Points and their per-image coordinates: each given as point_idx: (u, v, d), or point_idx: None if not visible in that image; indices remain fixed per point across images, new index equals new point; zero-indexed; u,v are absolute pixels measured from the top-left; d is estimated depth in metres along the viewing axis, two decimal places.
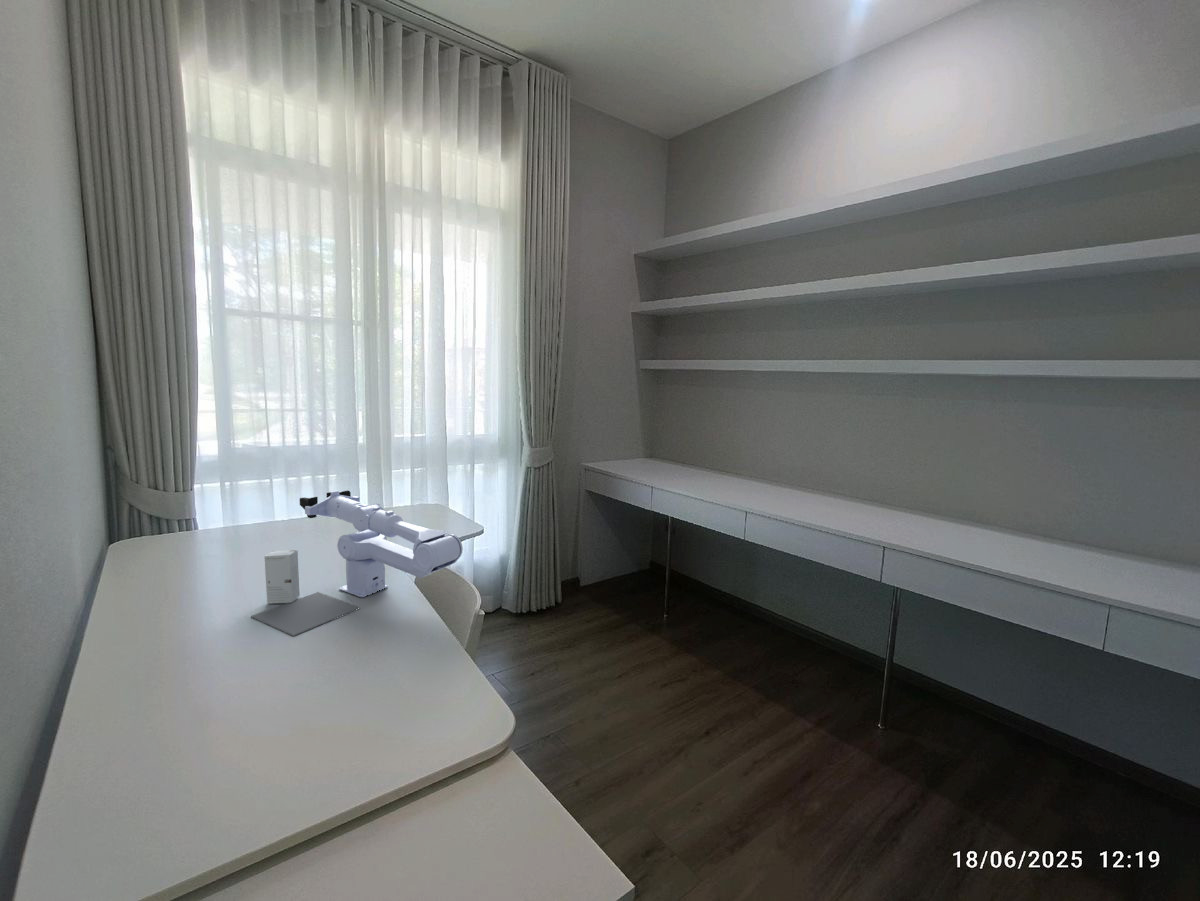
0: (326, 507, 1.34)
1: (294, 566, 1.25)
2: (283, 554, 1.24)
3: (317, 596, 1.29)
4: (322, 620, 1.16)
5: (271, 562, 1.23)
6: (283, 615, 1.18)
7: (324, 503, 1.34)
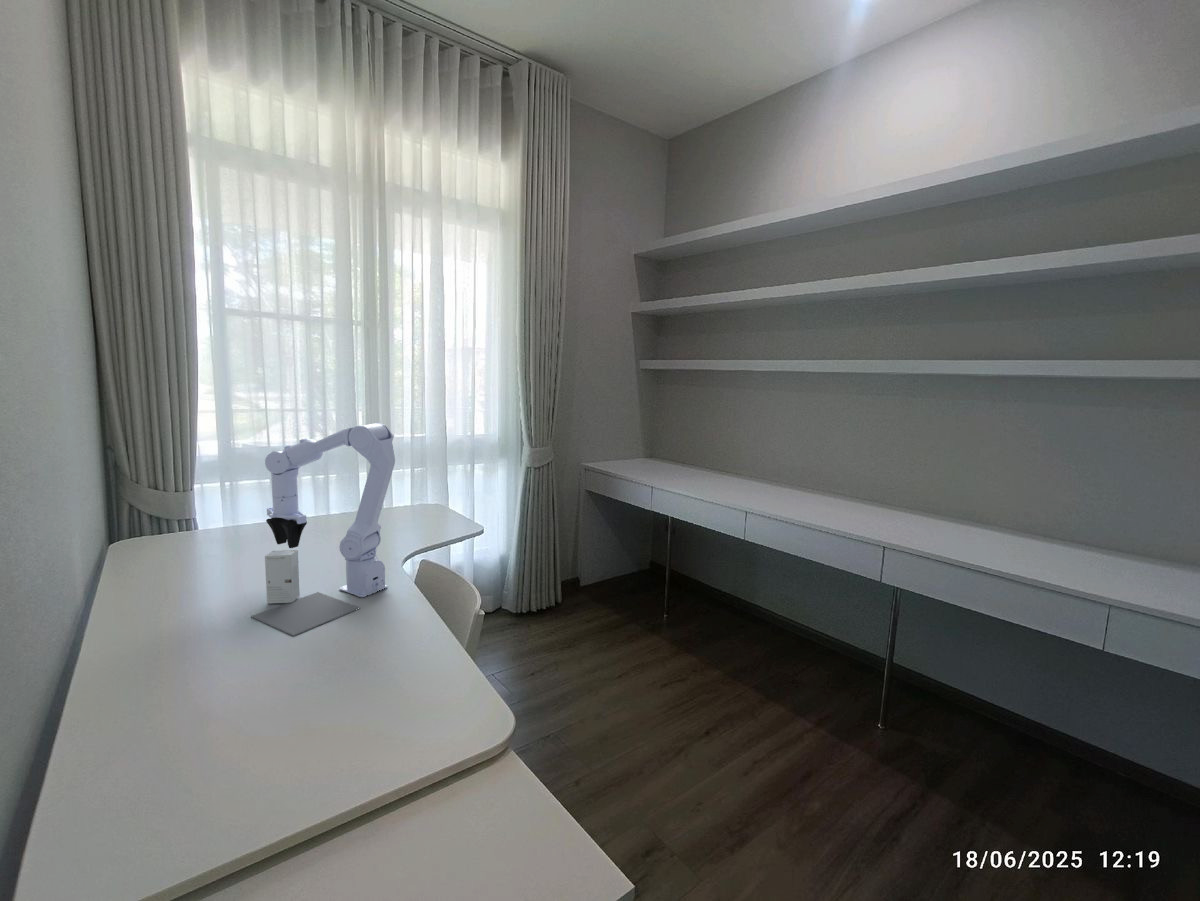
0: (291, 512, 1.33)
1: (294, 566, 1.25)
2: (283, 554, 1.24)
3: (317, 596, 1.29)
4: (322, 620, 1.16)
5: (272, 561, 1.23)
6: (283, 615, 1.18)
7: None
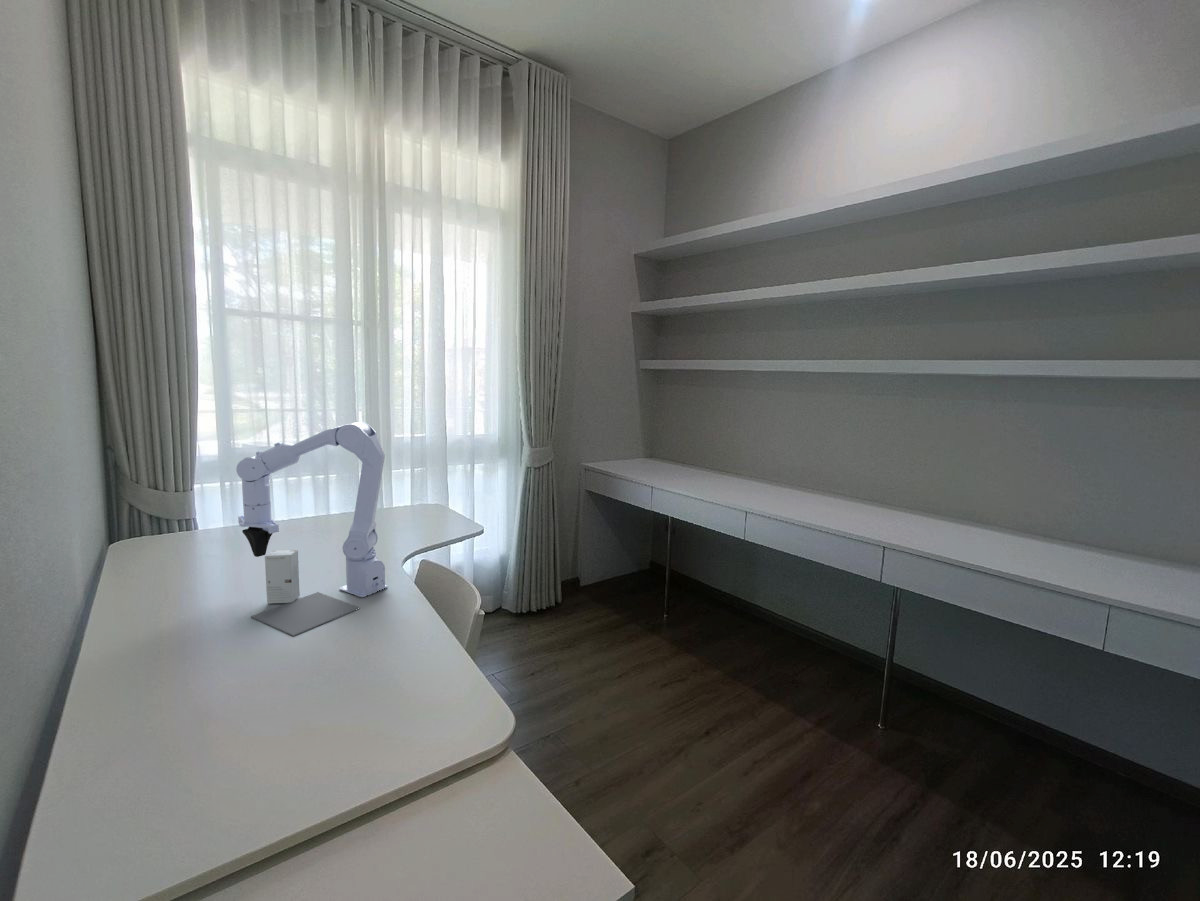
0: (263, 521, 1.27)
1: (294, 566, 1.25)
2: (283, 554, 1.24)
3: (317, 596, 1.29)
4: (322, 620, 1.16)
5: (272, 561, 1.23)
6: (283, 615, 1.18)
7: None
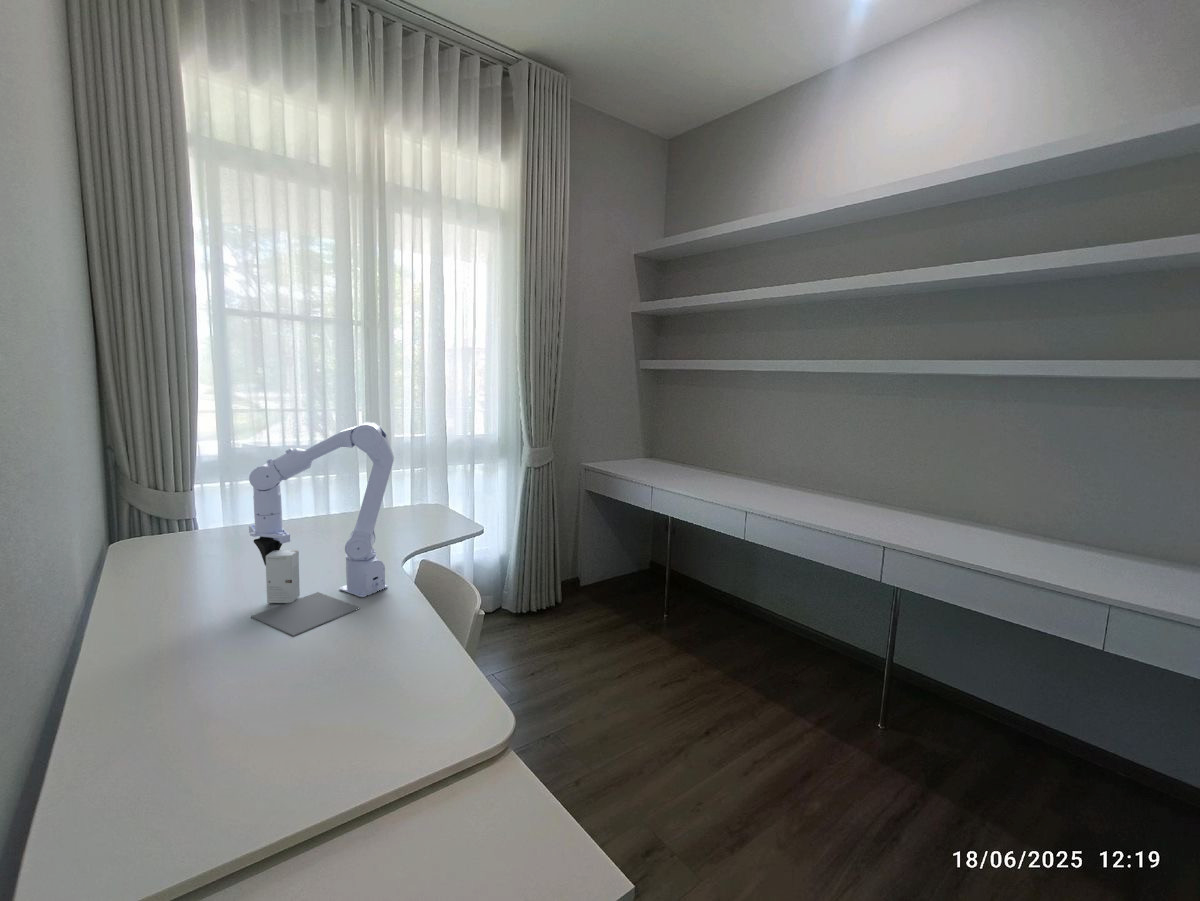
0: (274, 530, 1.25)
1: (295, 566, 1.25)
2: (284, 554, 1.23)
3: (317, 596, 1.29)
4: (322, 620, 1.16)
5: (272, 561, 1.23)
6: (283, 615, 1.18)
7: None
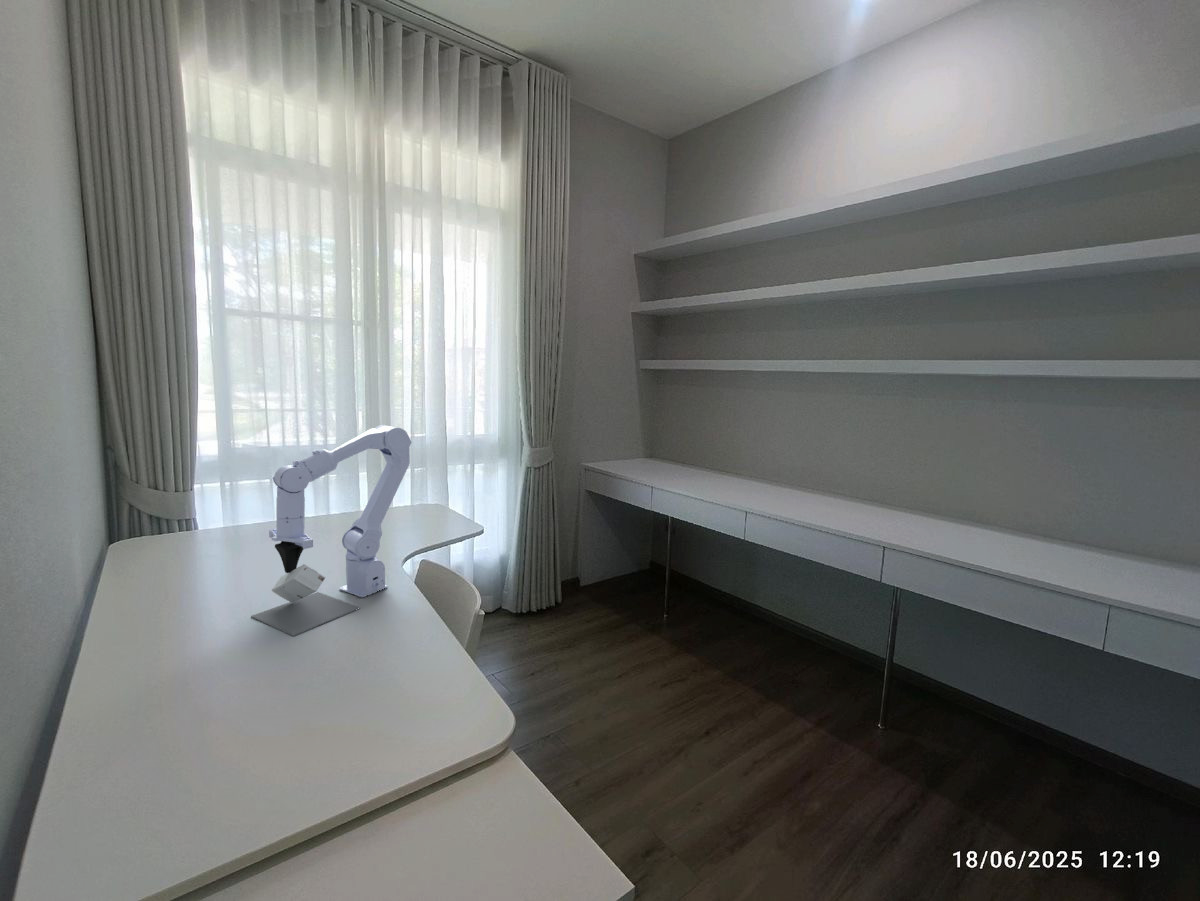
0: (296, 535, 1.19)
1: None
2: (310, 585, 1.18)
3: (317, 596, 1.29)
4: (322, 620, 1.16)
5: (297, 583, 1.17)
6: (283, 615, 1.18)
7: None
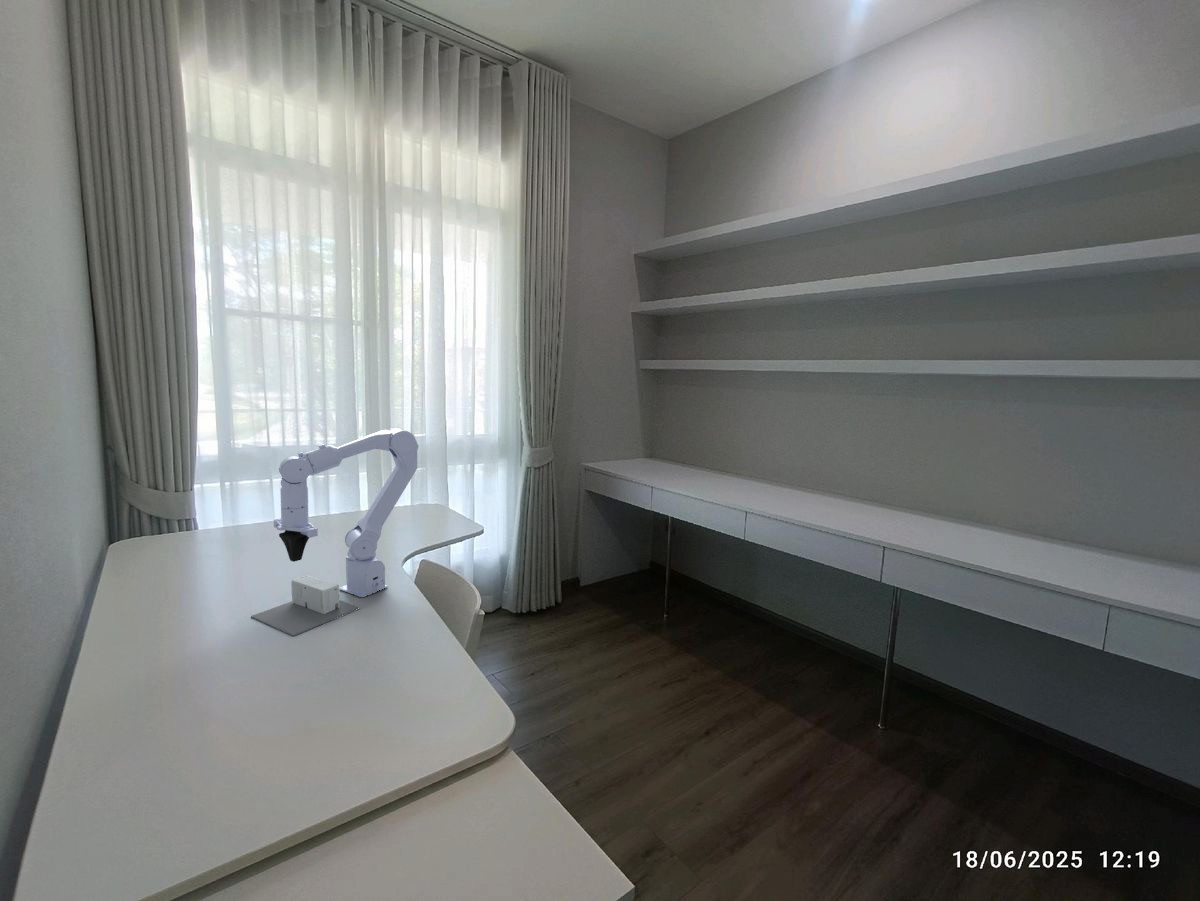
0: (301, 524, 1.23)
1: None
2: (326, 606, 1.19)
3: None
4: (322, 620, 1.16)
5: (319, 595, 1.19)
6: (283, 615, 1.18)
7: None
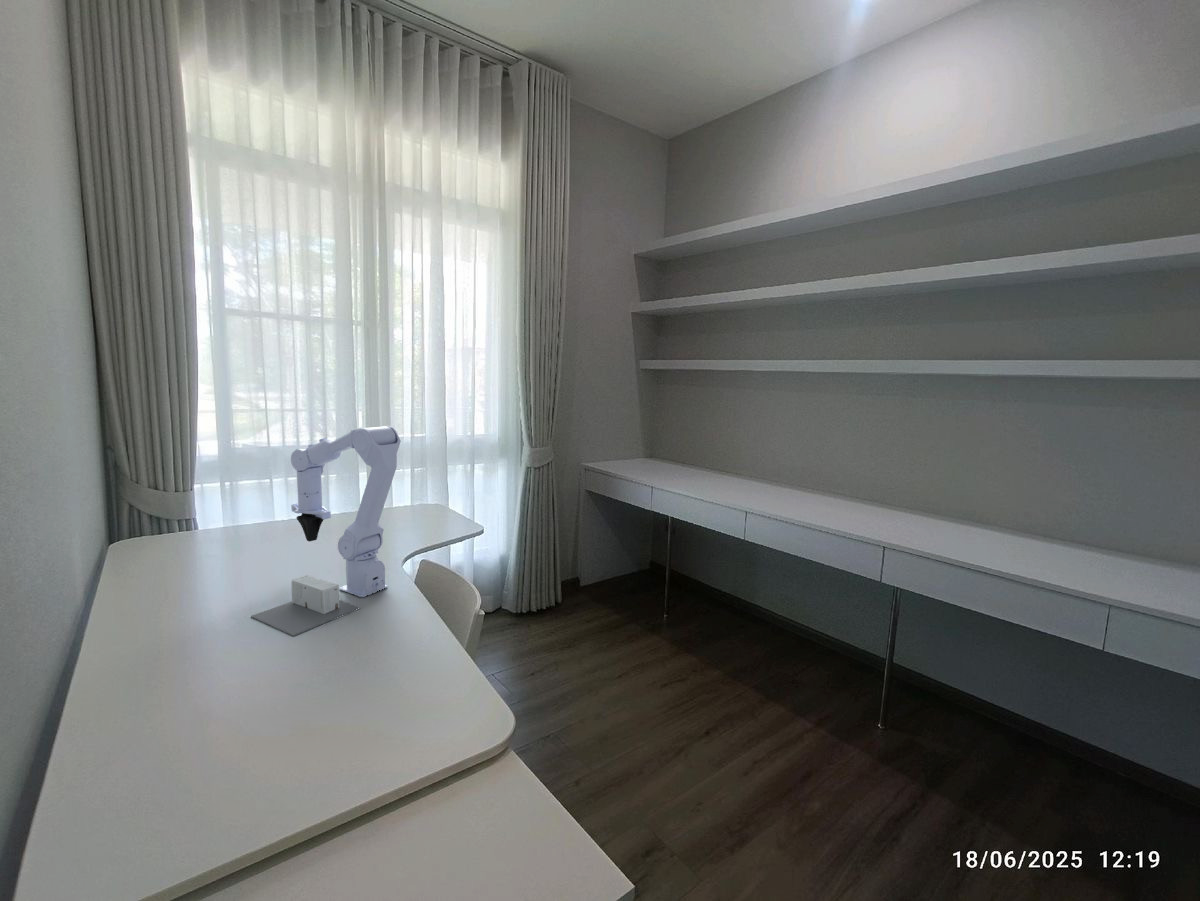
0: (315, 508, 1.37)
1: None
2: (326, 606, 1.19)
3: None
4: (322, 620, 1.16)
5: (319, 595, 1.19)
6: (283, 615, 1.18)
7: None
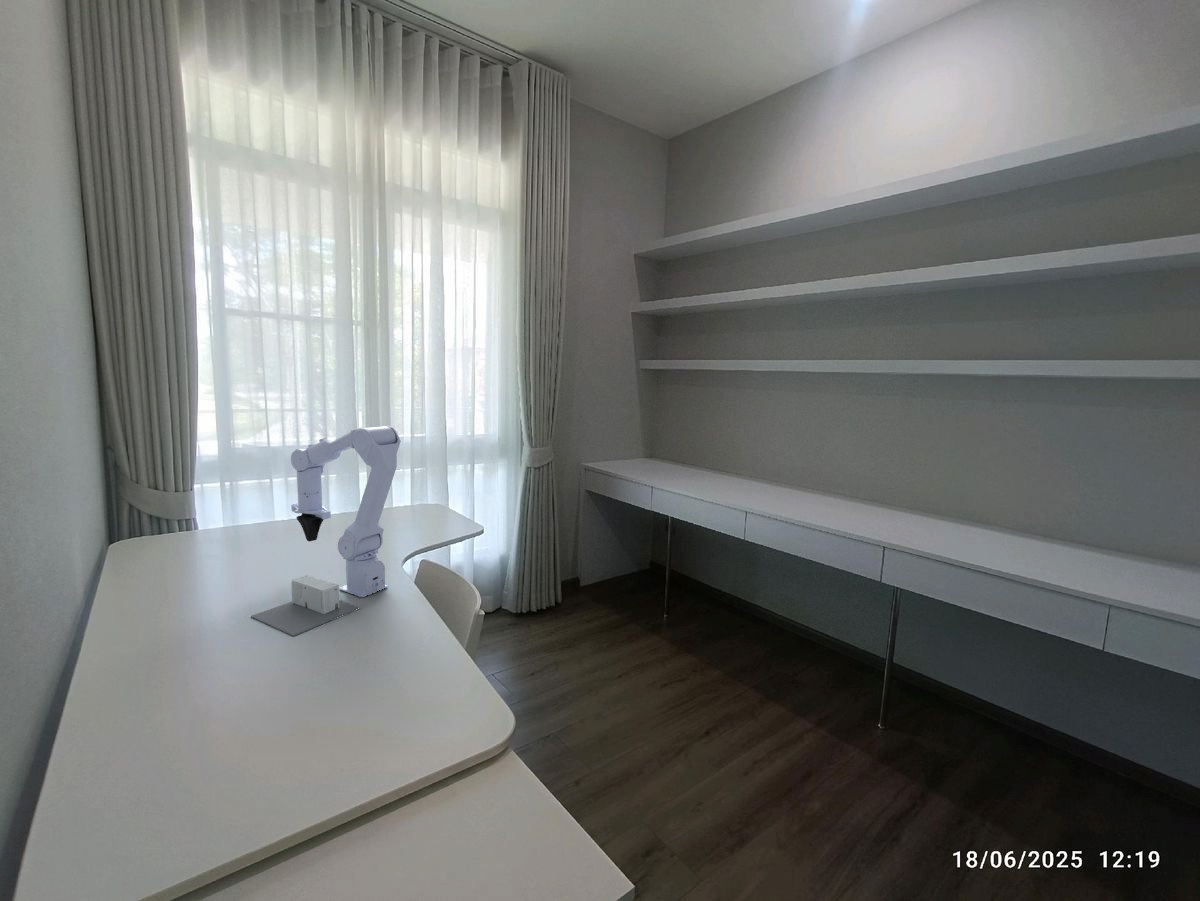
0: (315, 508, 1.37)
1: None
2: (326, 606, 1.19)
3: None
4: (322, 620, 1.16)
5: (319, 595, 1.19)
6: (283, 615, 1.18)
7: None
